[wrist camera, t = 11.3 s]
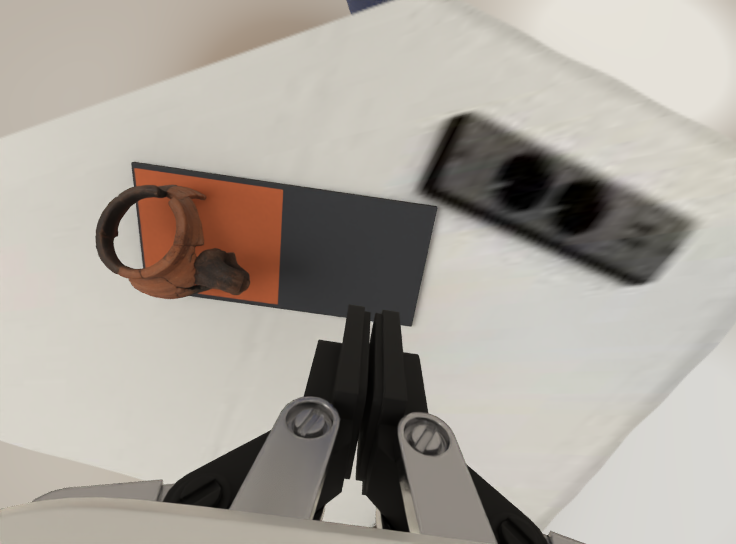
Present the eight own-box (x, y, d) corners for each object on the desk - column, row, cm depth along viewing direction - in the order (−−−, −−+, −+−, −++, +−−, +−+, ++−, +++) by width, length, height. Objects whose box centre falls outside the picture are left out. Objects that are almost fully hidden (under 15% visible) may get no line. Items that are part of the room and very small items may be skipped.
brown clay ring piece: (144, 280, 35) (63, 269, 27) (183, 191, 36) (116, 154, 28) (252, 327, 33) (200, 330, 25) (292, 232, 34) (253, 204, 26)
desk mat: (133, 161, 31) (130, 162, 30) (436, 206, 31) (437, 207, 31) (148, 288, 35) (145, 290, 35) (411, 324, 36) (411, 326, 36)
